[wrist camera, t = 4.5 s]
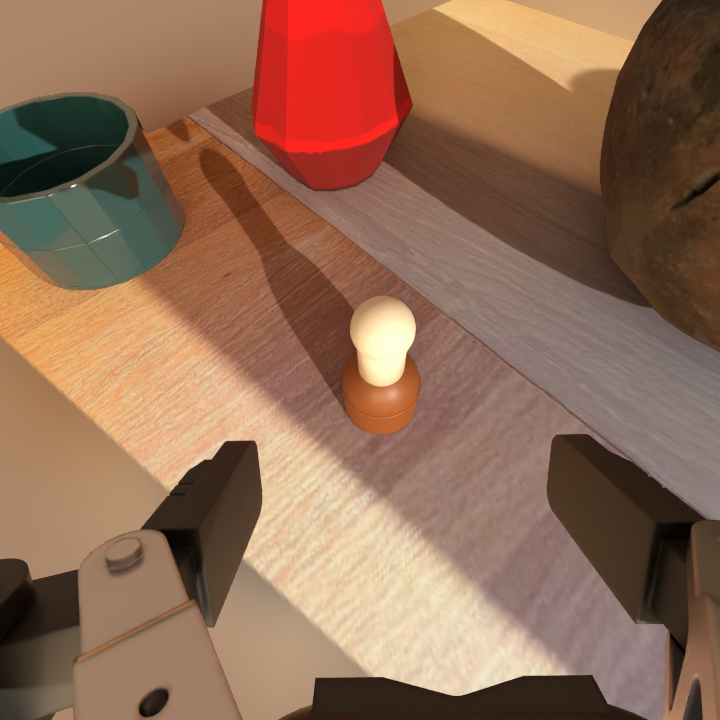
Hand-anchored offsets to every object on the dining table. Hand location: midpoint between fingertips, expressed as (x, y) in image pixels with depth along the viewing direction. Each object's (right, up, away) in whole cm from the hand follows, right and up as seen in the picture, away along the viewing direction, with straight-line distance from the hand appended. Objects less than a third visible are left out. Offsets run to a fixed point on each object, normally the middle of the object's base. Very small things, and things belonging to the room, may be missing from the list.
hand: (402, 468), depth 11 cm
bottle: (-4, +24, +31) cm, 40 cm away
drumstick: (0, 0, +17) cm, 17 cm away
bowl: (-25, +15, +27) cm, 40 cm away
